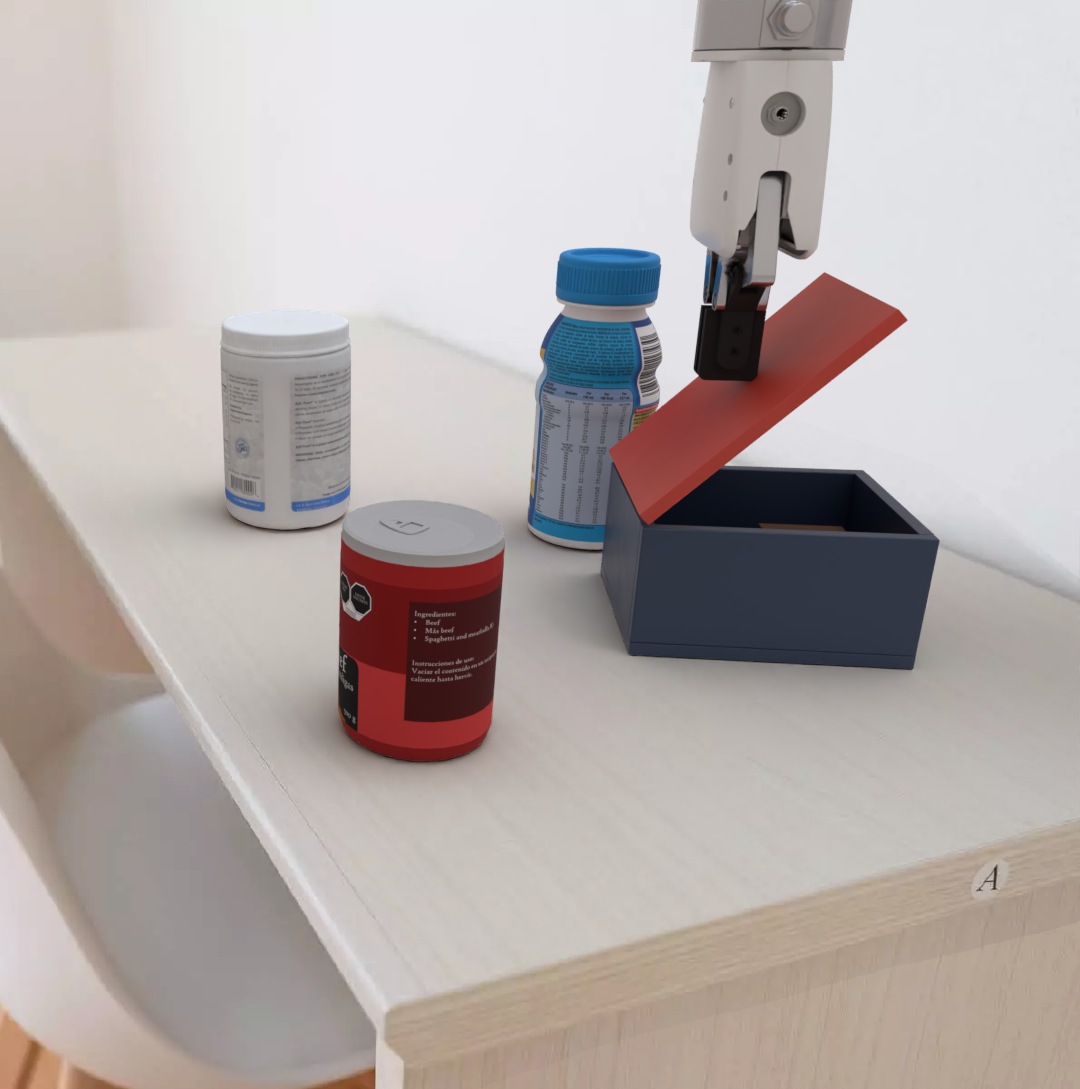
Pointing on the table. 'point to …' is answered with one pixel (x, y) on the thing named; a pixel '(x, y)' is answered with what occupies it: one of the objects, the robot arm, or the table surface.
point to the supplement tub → (286, 417)
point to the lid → (751, 393)
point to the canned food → (419, 627)
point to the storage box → (771, 570)
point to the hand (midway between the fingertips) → (724, 376)
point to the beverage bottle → (591, 388)
